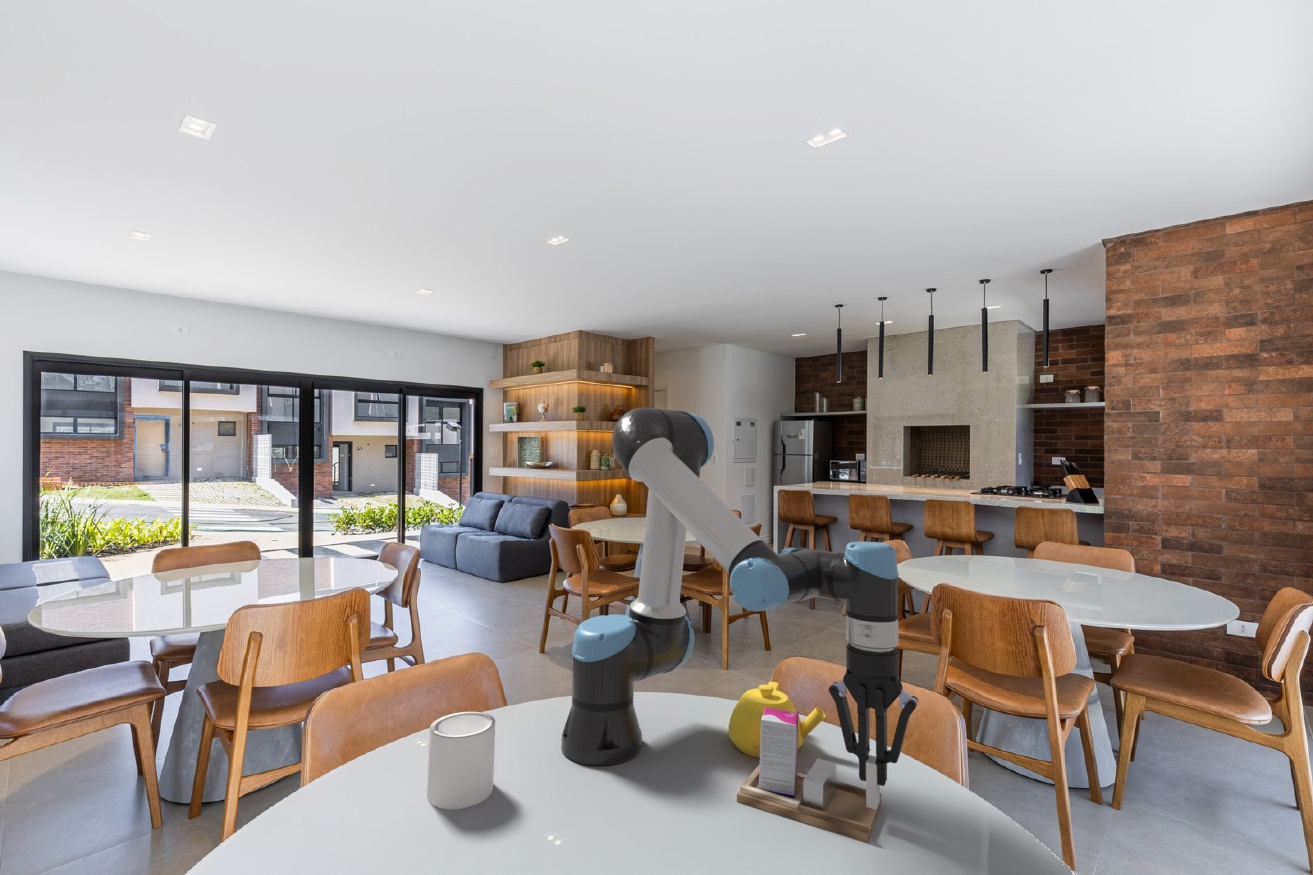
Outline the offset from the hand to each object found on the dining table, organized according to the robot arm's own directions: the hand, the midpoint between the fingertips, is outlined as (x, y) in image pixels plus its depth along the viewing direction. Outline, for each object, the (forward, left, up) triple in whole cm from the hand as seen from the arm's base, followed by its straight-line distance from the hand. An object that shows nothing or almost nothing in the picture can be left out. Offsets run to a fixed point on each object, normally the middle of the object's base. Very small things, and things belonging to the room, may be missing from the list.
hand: (873, 804), depth 91 cm
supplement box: (-15, 0, -2) cm, 15 cm away
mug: (-60, -25, -3) cm, 65 cm away
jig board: (-10, 0, -3) cm, 10 cm away
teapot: (-21, +17, -3) cm, 27 cm away
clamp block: (-8, 0, -1) cm, 8 cm away
